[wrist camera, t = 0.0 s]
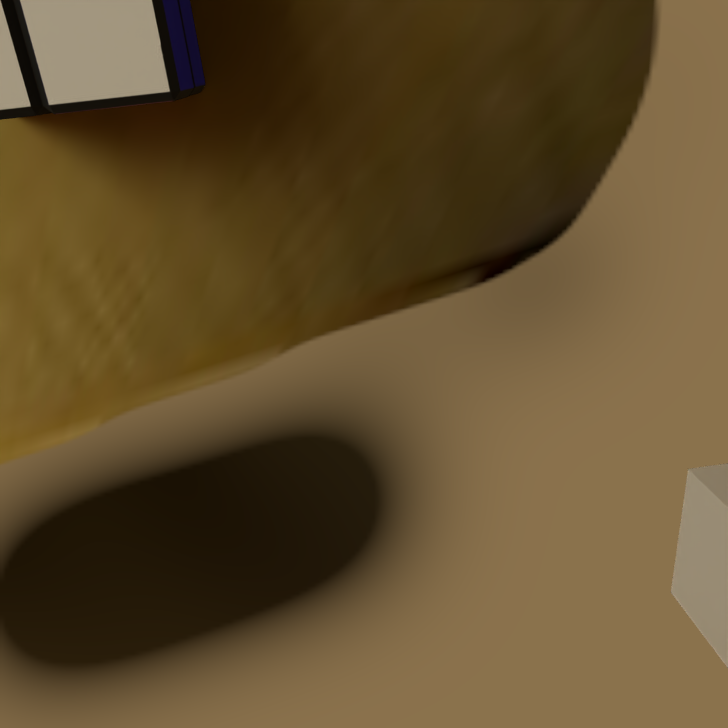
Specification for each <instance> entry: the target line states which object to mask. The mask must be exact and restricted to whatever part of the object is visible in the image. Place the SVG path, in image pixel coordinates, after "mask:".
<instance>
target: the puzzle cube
mask: <svg viewBox="0 0 728 728" xmlns="http://www.w3.org/2000/svg"><path fill="white" fill-rule="evenodd" d="M204 86H205V79H204V74H203V69H202V63H201V58H200V52H199V47H198V42H197V36H196V31H195V25H194V20H193V15H192V9H191V4H190V0H0V119H9V118H18V117H27V116H36V115H42V114H48V113H53V114H62V113H71V112H80V111H89V110H98V109H107V108H116V107H124V106H133V105H142V104H151V103H160V102H169V101H175V100H179V99H182V98H185V97H188V96H190V95H193V94H196V93H200V92H201V91H202V89H203V88H204Z"/></svg>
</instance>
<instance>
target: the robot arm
mask: <svg viewBox="0 0 728 728" xmlns="http://www.w3.org/2000/svg"><path fill="white" fill-rule="evenodd" d="M671 593H672V594H673V596H674V597H675V598H676V600H677V601H678V602H679V604H680V605H681V606H682V608H683V609H684V610H685V612H686V613H687V614H688V616H689V617H690V618H691V620H692V621H693V622H694V624H695V625H696V626H697V628H698V629H699V630H700V632H701V633H702V634H703V636H704V637H705V638H706V640H707V641H708V642H709V643H710V645H711V646H712V648H713V649H714V650H715V652H716V653H717V654H718V656H719V657H720V658H721V660H722V661H723V662H724V664H725V665H726V666H727V668H728V463H727V464H720V465H713V466H707V467H699V468H692V469H688V474H687V481H686V489H685V496H684V503H683V510H682V517H681V524H680V532H679V538H678V546H677V553H676V560H675V567H674V574H673V581H672V588H671Z"/></svg>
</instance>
